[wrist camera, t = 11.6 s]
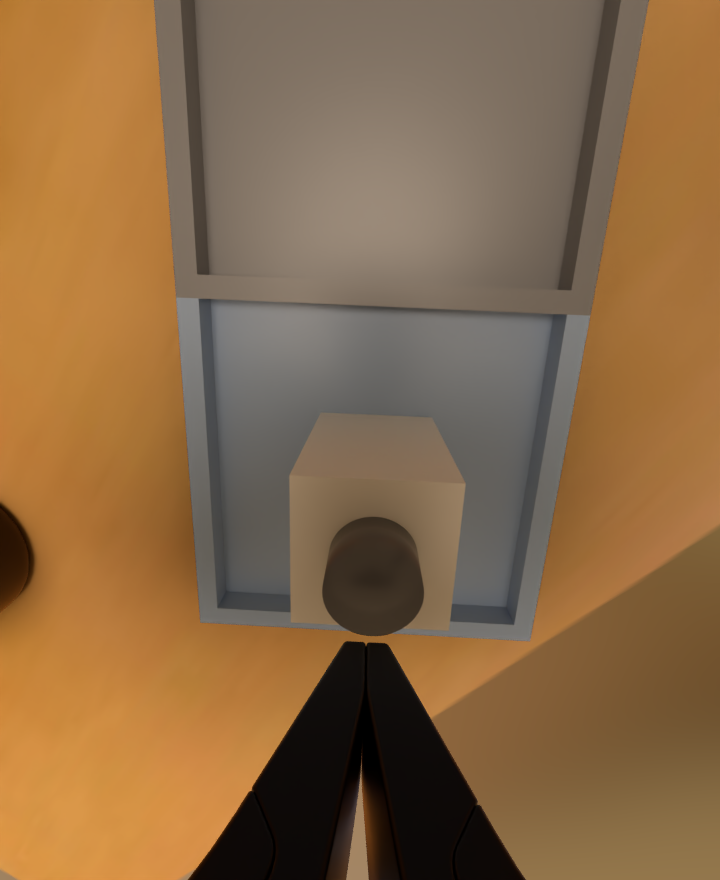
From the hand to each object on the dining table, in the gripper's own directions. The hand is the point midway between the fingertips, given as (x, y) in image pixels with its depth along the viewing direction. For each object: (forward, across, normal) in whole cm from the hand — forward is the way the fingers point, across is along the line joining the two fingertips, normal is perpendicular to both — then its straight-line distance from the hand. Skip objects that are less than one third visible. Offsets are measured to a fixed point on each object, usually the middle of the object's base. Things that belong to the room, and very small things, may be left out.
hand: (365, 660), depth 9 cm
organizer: (+11, 0, -7) cm, 13 cm away
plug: (+11, 0, 0) cm, 11 cm away
